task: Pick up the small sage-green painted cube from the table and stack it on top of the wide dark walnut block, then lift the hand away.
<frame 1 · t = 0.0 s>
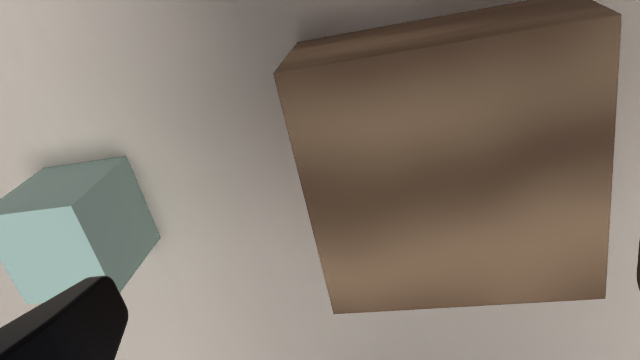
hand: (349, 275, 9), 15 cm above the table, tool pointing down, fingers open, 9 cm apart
walnut block: (441, 139, 23), on the table
sage cube: (103, 202, 27), on the table
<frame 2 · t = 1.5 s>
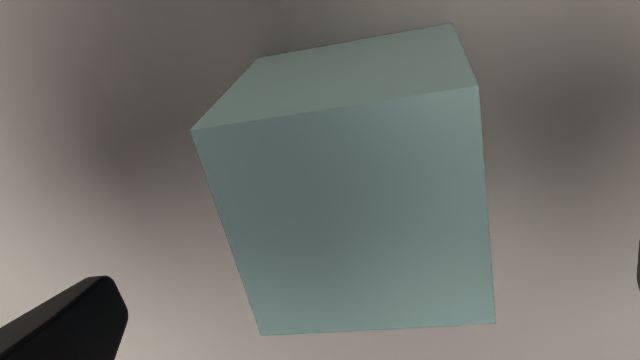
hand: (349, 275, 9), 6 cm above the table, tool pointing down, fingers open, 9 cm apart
sage cube: (367, 130, 14), on the table
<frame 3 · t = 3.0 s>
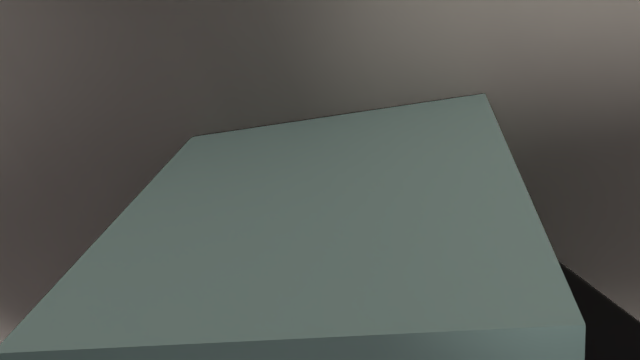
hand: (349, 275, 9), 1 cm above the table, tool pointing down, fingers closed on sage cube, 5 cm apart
sage cube: (355, 240, 10), on the table, touching gripper
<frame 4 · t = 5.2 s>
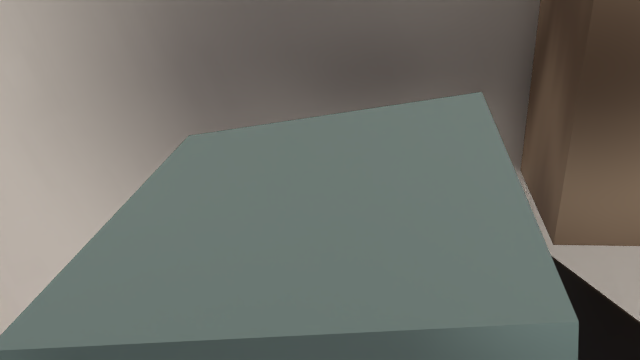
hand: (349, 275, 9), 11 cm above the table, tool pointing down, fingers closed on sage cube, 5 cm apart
sage cube: (352, 239, 10), point 10 cm above the table, touching gripper
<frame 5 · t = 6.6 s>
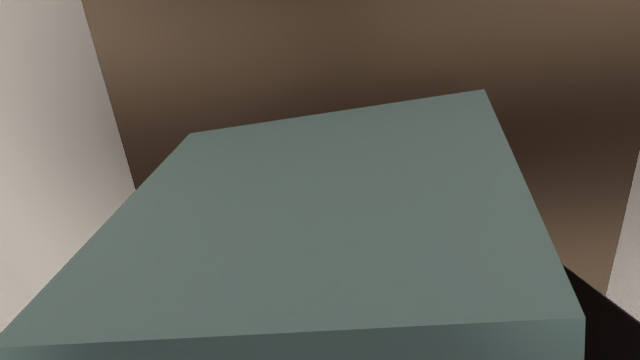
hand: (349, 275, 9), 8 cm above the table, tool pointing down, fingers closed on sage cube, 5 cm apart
walnut block: (374, 106, 16), on the table
sage cube: (353, 237, 9), point 7 cm above the table, touching gripper
when the fingers open (7 cm above the table, at t = 7.4 s): sage cube drops 2 cm, resting on walnut block.
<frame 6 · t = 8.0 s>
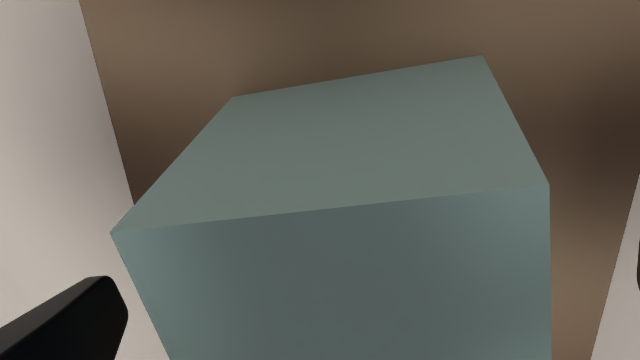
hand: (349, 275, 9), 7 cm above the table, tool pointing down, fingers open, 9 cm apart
walnut block: (373, 110, 15), on the table, touching sage cube
sage cube: (371, 187, 11), point 5 cm above the table, touching walnut block
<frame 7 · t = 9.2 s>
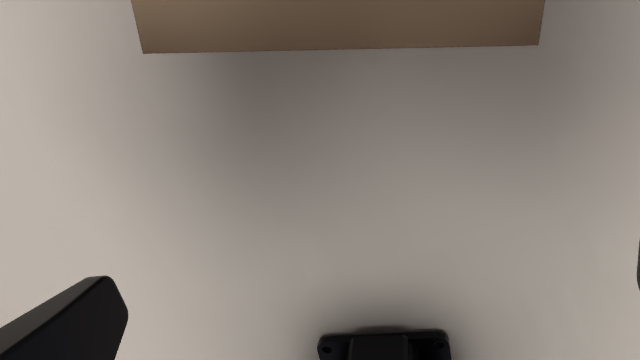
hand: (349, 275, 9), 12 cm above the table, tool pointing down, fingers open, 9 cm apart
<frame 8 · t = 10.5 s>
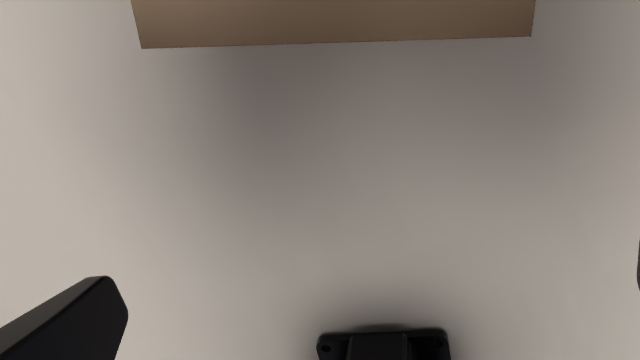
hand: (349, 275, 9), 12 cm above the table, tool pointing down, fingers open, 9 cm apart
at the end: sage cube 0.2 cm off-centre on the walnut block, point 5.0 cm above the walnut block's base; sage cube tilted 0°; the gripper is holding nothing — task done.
